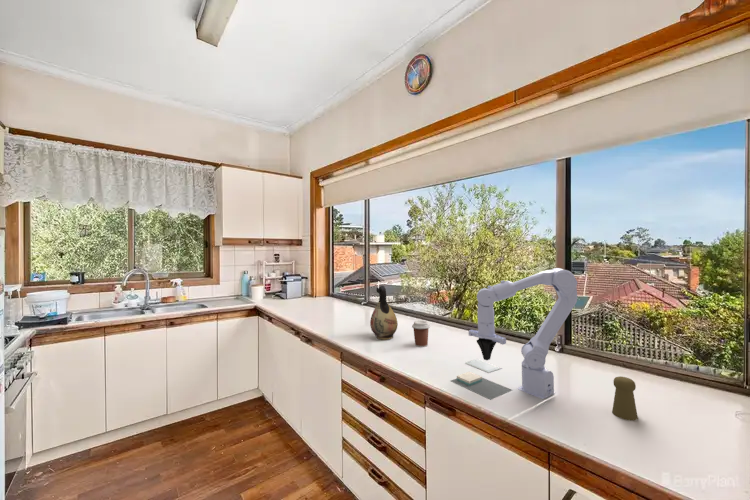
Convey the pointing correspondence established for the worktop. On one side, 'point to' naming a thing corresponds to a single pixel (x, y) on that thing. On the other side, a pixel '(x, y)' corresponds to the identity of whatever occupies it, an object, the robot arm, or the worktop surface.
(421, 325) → the coffee cup
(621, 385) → the olive green pepper mill
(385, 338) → the ceramic jug
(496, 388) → the mat
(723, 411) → the worktop surface
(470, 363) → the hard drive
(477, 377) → the tile
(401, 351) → the worktop surface
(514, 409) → the worktop surface
